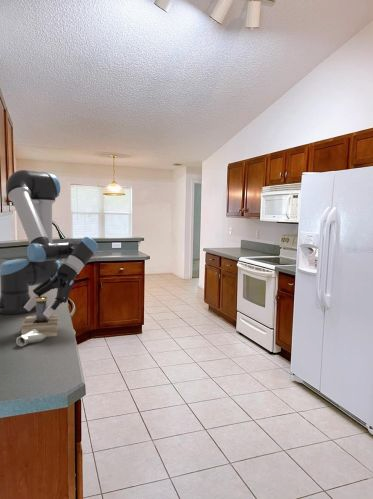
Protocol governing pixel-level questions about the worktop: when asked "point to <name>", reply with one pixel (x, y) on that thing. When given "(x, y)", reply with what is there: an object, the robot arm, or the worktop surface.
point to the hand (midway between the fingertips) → (35, 312)
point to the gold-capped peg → (40, 309)
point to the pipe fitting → (30, 337)
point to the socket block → (42, 325)
